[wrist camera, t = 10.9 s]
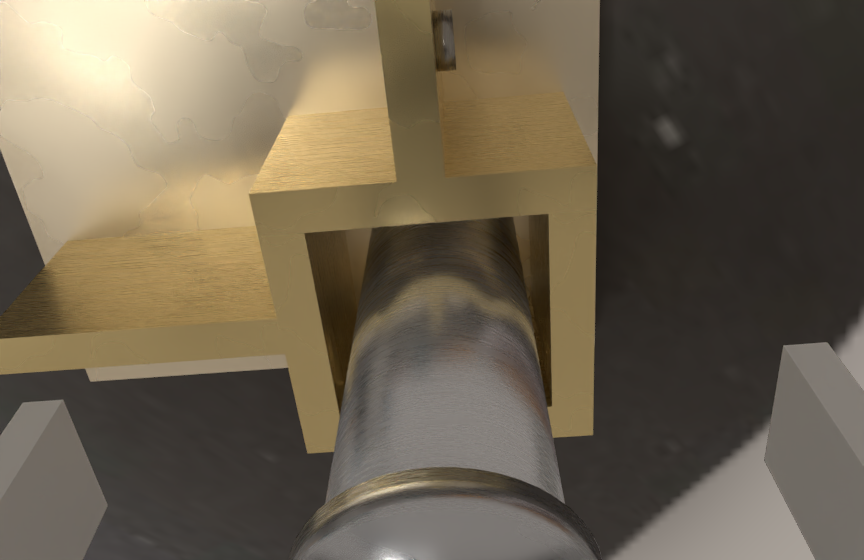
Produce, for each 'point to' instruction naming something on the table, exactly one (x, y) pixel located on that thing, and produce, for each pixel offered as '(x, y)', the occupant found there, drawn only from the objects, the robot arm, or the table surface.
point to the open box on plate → (289, 177)
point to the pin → (444, 411)
